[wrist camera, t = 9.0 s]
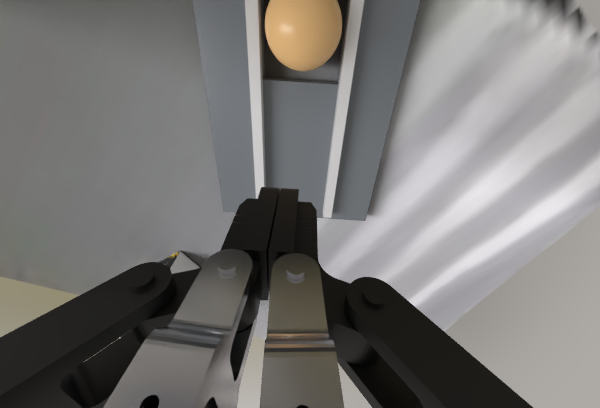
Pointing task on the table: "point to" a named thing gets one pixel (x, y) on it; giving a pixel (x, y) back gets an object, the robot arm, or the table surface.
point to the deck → (302, 106)
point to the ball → (303, 31)
